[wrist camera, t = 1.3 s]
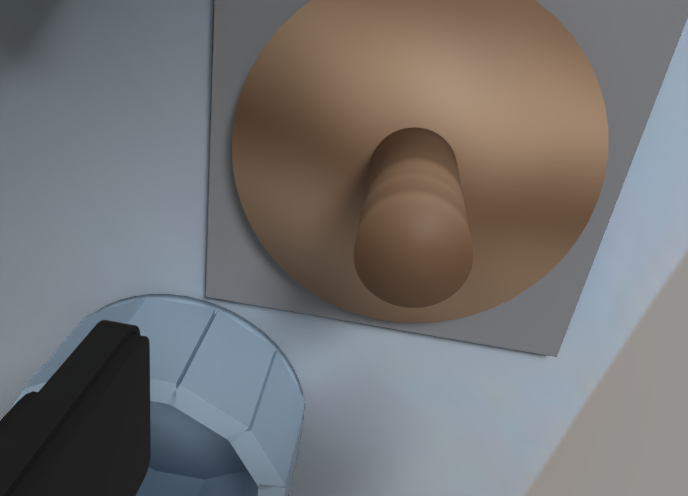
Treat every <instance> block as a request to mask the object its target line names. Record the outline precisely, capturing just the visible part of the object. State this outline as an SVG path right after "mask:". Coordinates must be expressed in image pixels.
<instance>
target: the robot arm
mask: <svg viewBox="0 0 688 496" xmlns="http://www.w3.org/2000/svg"><path fill="white" fill-rule="evenodd" d="M150 457H151V432H150V343H149V338H148V337H147V336H142V335H140V330H139V328H138V326H136V325H131V324H125V323H120V322H114V321H108V320H101V321H100V322H99V323H97V324H96V326H95V327H94V328H93V329H92V330H91V331H90V333H89V334H88V335H87V336H86V337H85V338H84V339H83V341H82V342H81V343H80V344H79V345H78V346H77V348H76V349H75V350H74V351H73V352H72V353H71V355H70V356H69V357H68V358H67V359H66V360H65V362H64V363H63V364H62V365H61V366H60V367H59V369H58V370H57V371H56V372H55V373H54V374H53V375H52V377H51V378H50V379H49V380H48V381H47V382H46V384H45V385H44V386H43V387H42V388H41V389H40V391H39V392H35V391H32V392H30V393H27V394H25V395H24V396H23V397H22V398H21V399H20V400H19V401H18V402H17V403H16V404H15V405H14V406H13V407H12V408H11V409H10V411H9V412H8V413H7V414H6V415H5V416H4V417H3V418H2V420H1V421H0V496H136V494H137V492H138V490H139V488H140V486H141V484H142V482H143V480H144V478H145V476H146V474H147V471H148V467H149V463H150Z"/></svg>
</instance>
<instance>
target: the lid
mask: <svg viewBox="0 0 688 496" xmlns="http://www.w3.org/2000/svg"><path fill="white" fill-rule="evenodd" d="M607 160H608V122H607V115H606V108H605V103H604V99H603V96H602V93H601V89H600V86H599V83H598V79H597V77H596V75H595V73H594V71H593V69H592V67H591V65H590V63H589V60H588V58H587V56H586V55H585V53H584V52H583V50H582V49H581V47H580V46H579V44H578V43H577V41H576V40H575V38H574V37H573V36H572V34H571V33H570V32H569V31H568V30H567V29H566V28H565V27H564V26H563V24H562V23H561V22H560V21H559V20H558V19H557V18H556V17H555V16H554V15H553V14H552V13H551V12H549V11H548V10H547V9H546V8H544V7H543V6H542V5H541V4H539V3H538V2H537V1H536V0H311V1H310V2H308V3H307V4H306V5H304V6H303V7H302V8H300V9H299V10H297V11H296V12H295V13H294V14H293V15H292V16H291V17H290V18H289V19H288V20H287V21H286V22H285V23H284V24H283V25H282V26H281V27H280V28H279V29H278V30H277V31H276V32H275V34H274V35H273V36H272V37H271V39H270V40H269V41H268V43H267V44H266V45H265V46H264V48H263V49H262V51H261V52H260V54H259V56H258V57H257V59H256V61H255V63H254V64H253V66H252V68H251V70H250V71H249V74H248V76H247V79H246V81H245V84H244V86H243V88H242V91H241V93H240V97H239V101H238V105H237V109H236V113H235V117H234V125H233V134H232V164H233V170H234V177H235V183H236V187H237V191H238V194H239V198H240V201H241V204H242V207H243V209H244V212H245V214H246V216H247V219H248V221H249V223H250V225H251V227H252V229H253V230H254V232H255V234H256V235H257V237H258V239H259V240H260V242H261V244H262V245H263V246H264V248H265V249H266V250H267V252H268V253H269V254H270V255H271V257H272V258H273V259H274V261H275V262H276V263H277V264H278V265H279V266H280V267H281V268H282V269H283V270H284V271H285V272H286V273H287V274H288V275H289V276H291V277H292V278H293V279H294V280H296V281H297V282H298V283H299V284H301V285H302V286H303V287H304V288H306V289H307V290H309V291H310V292H312V293H314V294H315V295H317V296H318V297H320V298H322V299H323V300H325V301H327V302H329V303H332V304H334V305H336V306H338V307H340V308H342V309H345V310H348V311H350V312H353V313H356V314H359V315H362V316H366V317H370V318H375V319H379V320H384V321H393V322H401V323H431V322H441V321H449V320H453V319H458V318H463V317H468V316H471V315H474V314H477V313H480V312H483V311H486V310H489V309H491V308H494V307H496V306H498V305H500V304H502V303H504V302H507V301H509V300H511V299H512V298H514V297H516V296H517V295H519V294H521V293H522V292H524V291H526V290H527V289H529V288H530V287H531V286H533V285H534V284H535V283H537V282H538V281H539V280H540V279H542V278H543V277H544V276H546V275H547V274H548V273H549V272H550V271H551V270H552V269H553V268H554V267H555V266H556V265H557V264H558V263H559V262H560V261H561V260H562V259H563V258H564V256H565V255H566V254H567V253H568V251H569V250H570V249H571V248H572V246H573V245H574V244H575V243H576V241H577V240H578V238H579V237H580V235H581V233H582V232H583V230H584V228H585V227H586V225H587V223H588V222H589V220H590V217H591V215H592V213H593V211H594V208H595V206H596V204H597V202H598V199H599V196H600V192H601V189H602V185H603V182H604V179H605V173H606V166H607Z"/></svg>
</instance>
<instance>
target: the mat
mask: <svg viewBox="0 0 688 496" xmlns="http://www.w3.org/2000/svg"><path fill="white" fill-rule="evenodd" d="M310 1H311V0H215V4H214V37H213V71H212V104H211V137H210V171H209V204H208V237H207V270H206V297H210V298H216V299H222V300H228V301H233V302H239V303H245V304H251V305H257V306H263V307H268V308H274V309H280V310H286V311H292V312H297V313H303V314H309V315H315V316H321V317H327V318H332V319H338V320H344V321H350V322H356V323H362V324H367V325H373V326H379V327H385V328H391V329H396V330H402V331H408V332H414V333H420V334H426V335H431V336H437V337H443V338H449V339H455V340H461V341H466V342H472V343H478V344H484V345H490V346H495V347H501V348H507V349H513V350H519V351H525V352H530V353H536V354H542V355H548V356H554V357H557V354H558V352H559V349H560V347H561V344H562V342H563V339H564V336H565V334H566V331H567V329H568V326H569V323H570V321H571V318H572V316H573V313H574V310H575V308H576V305H577V303H578V300H579V297H580V295H581V292H582V290H583V287H584V284H585V282H586V279H587V277H588V274H589V272H590V269H591V266H592V264H593V261H594V259H595V256H596V253H597V251H598V248H599V246H600V243H601V240H602V238H603V235H604V233H605V230H606V227H607V225H608V222H609V220H610V217H611V214H612V212H613V209H614V207H615V204H616V201H617V199H618V196H619V194H620V191H621V189H622V186H623V183H624V181H625V178H626V176H627V173H628V170H629V168H630V165H631V163H632V160H633V157H634V155H635V152H636V150H637V147H638V144H639V142H640V139H641V137H642V134H643V131H644V129H645V126H646V124H647V121H648V118H649V116H650V113H651V111H652V108H653V106H654V103H655V100H656V98H657V95H658V93H659V90H660V87H661V85H662V82H663V80H664V77H665V74H666V72H667V69H668V67H669V64H670V61H671V59H672V56H673V54H674V51H675V48H676V46H677V43H678V41H679V38H680V36H681V33H682V30H683V28H684V25H685V23H686V20H687V17H688V0H536V1H537V2H538V3H539V4H541V5H542V6H543V7H544V8H546V9H547V10H548V11H549V12H551V13H552V14H553V15H554V16H555V17H556V18H557V19H558V20H559V21H560V22H561V23H562V24H563V26H564V27H565V28H566V29H567V30H568V31H569V32H570V33H571V34H572V36H573V37H574V38H575V40H576V41H577V43H578V44H579V46H580V47H581V49H582V50H583V52H584V53H585V55H586V56H587V58H588V60H589V63H590V65H591V67H592V69H593V71H594V73H595V75H596V77H597V79H598V83H599V86H600V89H601V93H602V96H603V99H604V103H605V108H606V115H607V122H608V160H607V166H606V173H605V179H604V182H603V185H602V189H601V192H600V196H599V199H598V202H597V204H596V206H595V208H594V211H593V213H592V215H591V217H590V220H589V222H588V223H587V225H586V227H585V228H584V230H583V232H582V233H581V235H580V237H579V238H578V240H577V241H576V243H575V244H574V245H573V246H572V248H571V249H570V250H569V251H568V253H567V254H566V255H565V256H564V258H563V259H562V260H561V261H560V262H559V263H558V264H557V265H556V266H555V267H554V268H553V269H552V270H551V271H550V272H549V273H548V274H547V275H546V276H544V277H543V278H542V279H540V280H539V281H538V282H537V283H535V284H534V285H533V286H531V287H530V288H529V289H527V290H526V291H524V292H522V293H521V294H519V295H517V296H516V297H514V298H512V299H511V300H509V301H507V302H504V303H502V304H500V305H498V306H496V307H494V308H491V309H489V310H486V311H483V312H480V313H477V314H474V315H471V316H468V317H463V318H458V319H453V320H449V321H441V322H431V323H401V322H393V321H384V320H379V319H375V318H370V317H366V316H362V315H359V314H356V313H353V312H350V311H348V310H345V309H342V308H340V307H338V306H336V305H334V304H332V303H329V302H327V301H325V300H323V299H322V298H320V297H318V296H317V295H315V294H314V293H312V292H310V291H309V290H307V289H306V288H304V287H303V286H302V285H301V284H299V283H298V282H297V281H296V280H294V279H293V278H292V277H291V276H289V275H288V274H287V273H286V272H285V271H284V270H283V269H282V268H281V267H280V266H279V265H278V264H277V263H276V262H275V261H274V259H273V258H272V257H271V255H270V254H269V253H268V252H267V250H266V249H265V248H264V246H263V245H262V244H261V242H260V240H259V239H258V237H257V235H256V234H255V232H254V230H253V229H252V227H251V225H250V223H249V221H248V219H247V216H246V214H245V212H244V209H243V207H242V204H241V201H240V198H239V194H238V191H237V187H236V183H235V177H234V170H233V164H232V134H233V125H234V117H235V113H236V109H237V105H238V101H239V97H240V93H241V91H242V88H243V86H244V84H245V81H246V79H247V76H248V74H249V71H250V70H251V68H252V66H253V64H254V63H255V61H256V59H257V57H258V56H259V54H260V52H261V51H262V49H263V48H264V46H265V45H266V44H267V43H268V41H269V40H270V39H271V37H272V36H273V35H274V34H275V32H276V31H277V30H278V29H279V28H280V27H281V26H282V25H283V24H284V23H285V22H286V21H287V20H288V19H289V18H290V17H291V16H292V15H293V14H294V13H295V12H296V11H297V10H299V9H300V8H302V7H303V6H304V5H306V4H307V3H308V2H310Z"/></svg>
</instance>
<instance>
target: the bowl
mask: <svg viewBox="0 0 688 496" xmlns="http://www.w3.org/2000/svg"><path fill="white" fill-rule="evenodd" d="M101 320H108V321H114V322H120V323H125V324H131V325H136V326H138V328H139V330H140V335H142V336H147V337H148V338H149V343H150V432H151V457H150V463H149V467H148V471H147V474H146V476H145V478H144V480H143V482H142V484H141V486H140V488H139V490H138V492H137V494H136V496H289V491H290V487H291V482H292V478H293V473H294V469H295V464H296V460H297V455H298V451H299V444H300V437H301V430H302V424H303V420H304V408H305V403H304V401H305V400H304V398H303V393H302V389H301V386H300V382H299V380H298V377H297V375H296V373H295V371H294V369H293V367H292V365H291V364H290V362H289V361H288V359H287V357H286V356H285V355H284V353H283V352H282V351H281V350H280V349H279V347H278V346H277V345H276V344H275V343H274V342H273V341H272V340H271V339H270V338H269V337H268V336H267V335H266V334H265V333H264V332H262V331H261V330H260V329H258V328H257V327H256V326H254V325H253V324H252V323H250V322H249V321H247V320H245V319H244V318H242V317H240V316H239V315H237V314H235V313H233V312H231V311H229V310H227V309H225V308H223V307H220V306H218V305H215V304H212V303H209V302H206V301H203V300H199V299H195V298H191V297H186V296H178V295H170V294H149V295H141V296H134V297H130V298H126V299H122V300H119V301H116V302H114V303H111V304H109V305H107V306H105V307H103V308H102V309H100V310H98V311H97V312H95V313H93V314H90V315H87V316H86V317H85V318H84V319H83V320H82V321H81V322H80V324H79V325H78V326H77V327H76V328H75V329H74V331H73V332H72V333H71V334H70V335H69V336H68V338H67V339H66V340H65V341H64V342H63V343H62V345H61V346H60V347H59V348H58V349H57V350H56V352H55V353H54V354H53V355H52V356H51V357H50V359H49V360H48V361H47V362H46V363H45V364H44V366H43V367H42V368H41V369H40V370H39V371H38V373H37V374H36V375H35V376H34V377H33V379H32V380H31V381H30V382H29V383H28V384H27V386H26V387H25V388H24V389H23V390H22V392H21V393H20V395H19V396H18V398H17V399H16V401H15V402H14V404H13V405H12V407H13V406H14V405H15V404H16V403H17V402H18V401H19V400H20V399H21V398H22V397H23V396H24V395H25V394H27V393H30V392H32V391H35V392H39V391H40V389H41V388H42V387H43V386H44V385H45V384H46V382H47V381H48V380H49V379H50V378H51V377H52V375H53V374H54V373H55V372H56V371H57V370H58V369H59V367H60V366H61V365H62V364H63V363H64V362H65V360H66V359H67V358H68V357H69V356H70V355H71V353H72V352H73V351H74V350H75V349H76V348H77V346H78V345H79V344H80V343H81V342H82V341H83V339H84V338H85V337H86V336H87V335H88V334H89V333H90V331H91V330H92V329H93V328H94V327H95V326H96V324H97V323H99V322H100V321H101ZM12 407H11V408H12ZM11 408H10V409H11ZM9 411H10V410H9ZM9 411H8V412H9Z"/></svg>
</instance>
